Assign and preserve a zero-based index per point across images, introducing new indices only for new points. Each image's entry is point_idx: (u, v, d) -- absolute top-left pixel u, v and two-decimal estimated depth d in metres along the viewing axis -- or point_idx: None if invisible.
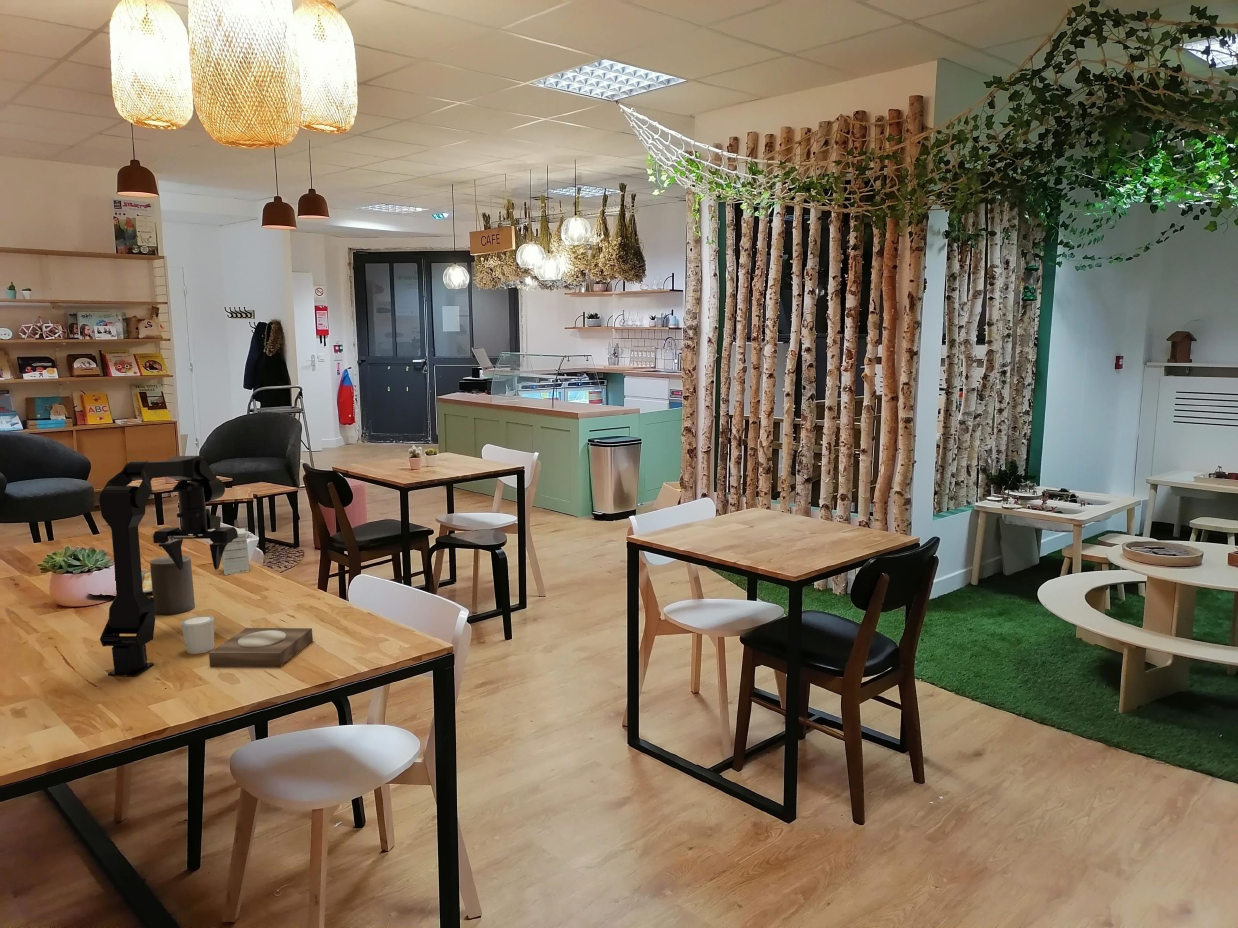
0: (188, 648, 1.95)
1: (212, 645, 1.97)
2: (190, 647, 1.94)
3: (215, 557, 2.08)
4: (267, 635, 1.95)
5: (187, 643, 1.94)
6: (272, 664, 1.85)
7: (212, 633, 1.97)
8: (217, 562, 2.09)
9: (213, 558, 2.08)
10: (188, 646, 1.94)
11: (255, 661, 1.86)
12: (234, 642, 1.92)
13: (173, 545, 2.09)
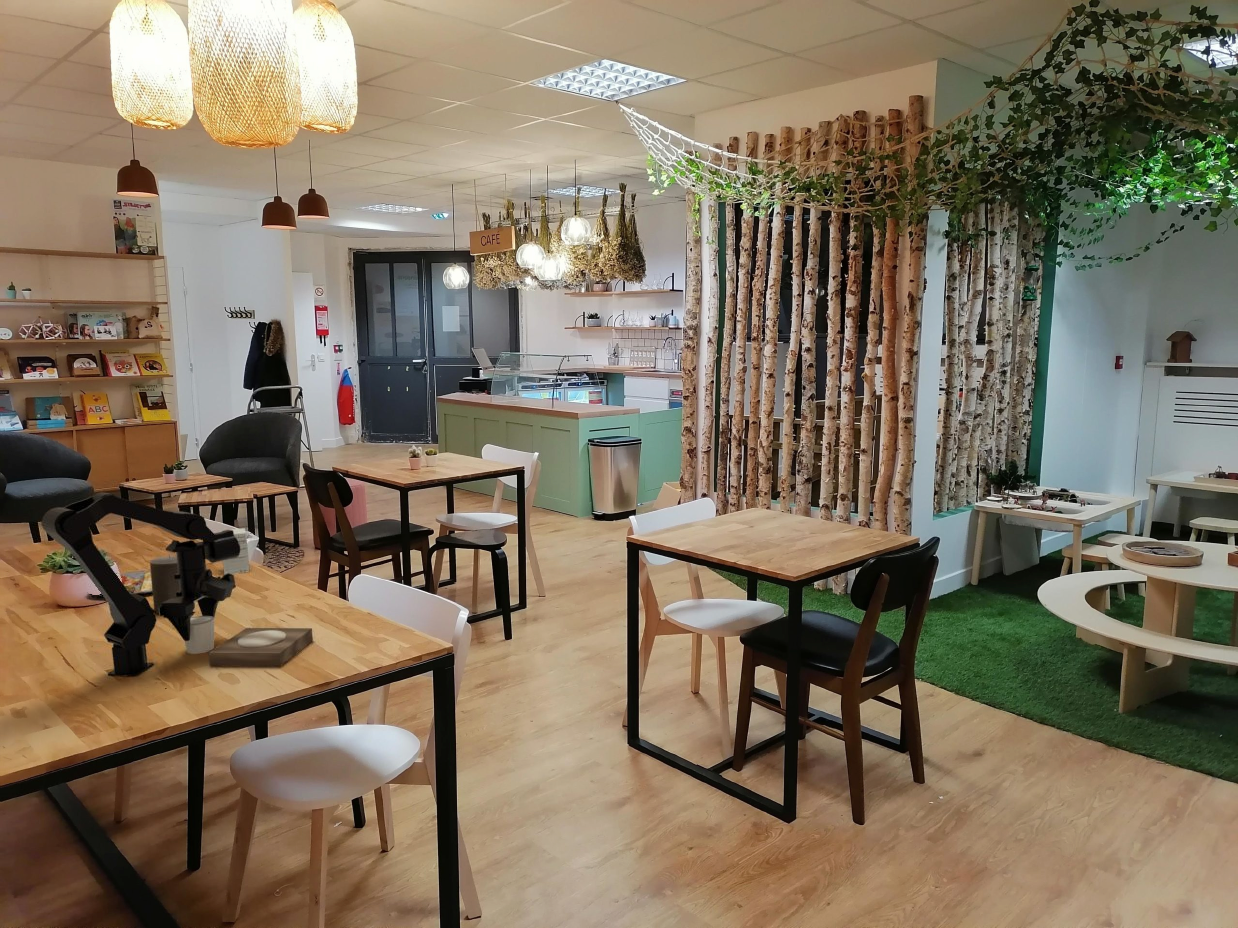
0: (188, 648, 1.95)
1: (212, 645, 1.97)
2: (190, 647, 1.94)
3: None
4: (267, 635, 1.95)
5: (187, 643, 1.94)
6: (272, 664, 1.85)
7: (212, 633, 1.97)
8: (181, 633, 1.91)
9: None
10: (188, 646, 1.94)
11: (255, 661, 1.86)
12: (234, 642, 1.92)
13: (202, 599, 2.01)
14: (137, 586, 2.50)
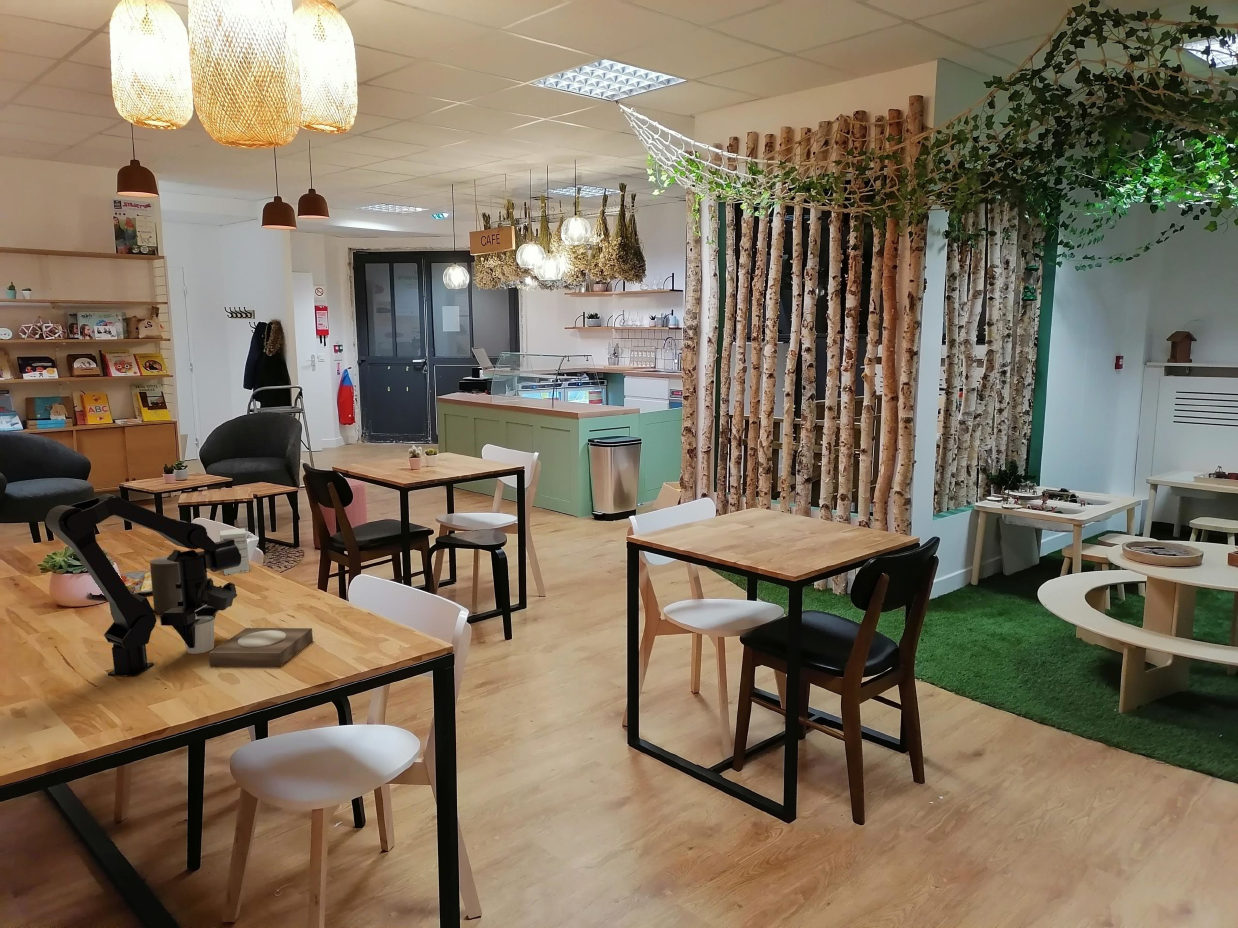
0: (188, 648, 1.95)
1: (212, 645, 1.97)
2: None
3: None
4: (267, 635, 1.95)
5: None
6: (272, 664, 1.85)
7: (212, 633, 1.97)
8: (186, 641, 1.93)
9: None
10: None
11: (255, 661, 1.86)
12: (234, 642, 1.92)
13: (200, 610, 2.00)
14: (137, 586, 2.50)
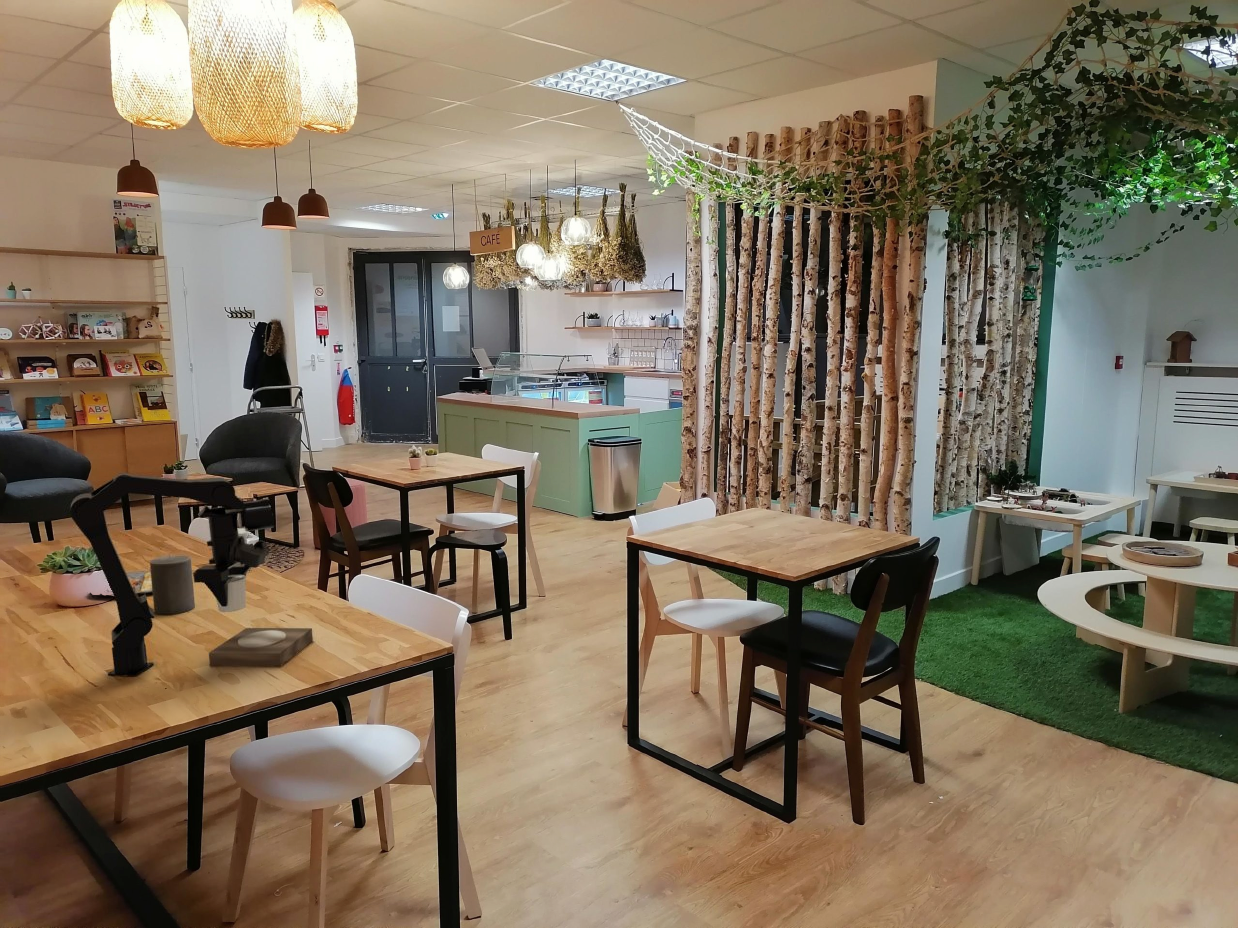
0: (220, 607, 1.92)
1: (244, 603, 1.94)
2: None
3: None
4: (267, 635, 1.95)
5: None
6: (272, 664, 1.85)
7: (244, 591, 1.94)
8: (219, 599, 1.90)
9: None
10: (220, 604, 1.91)
11: (255, 661, 1.86)
12: (234, 642, 1.92)
13: (230, 569, 1.97)
14: (137, 586, 2.50)
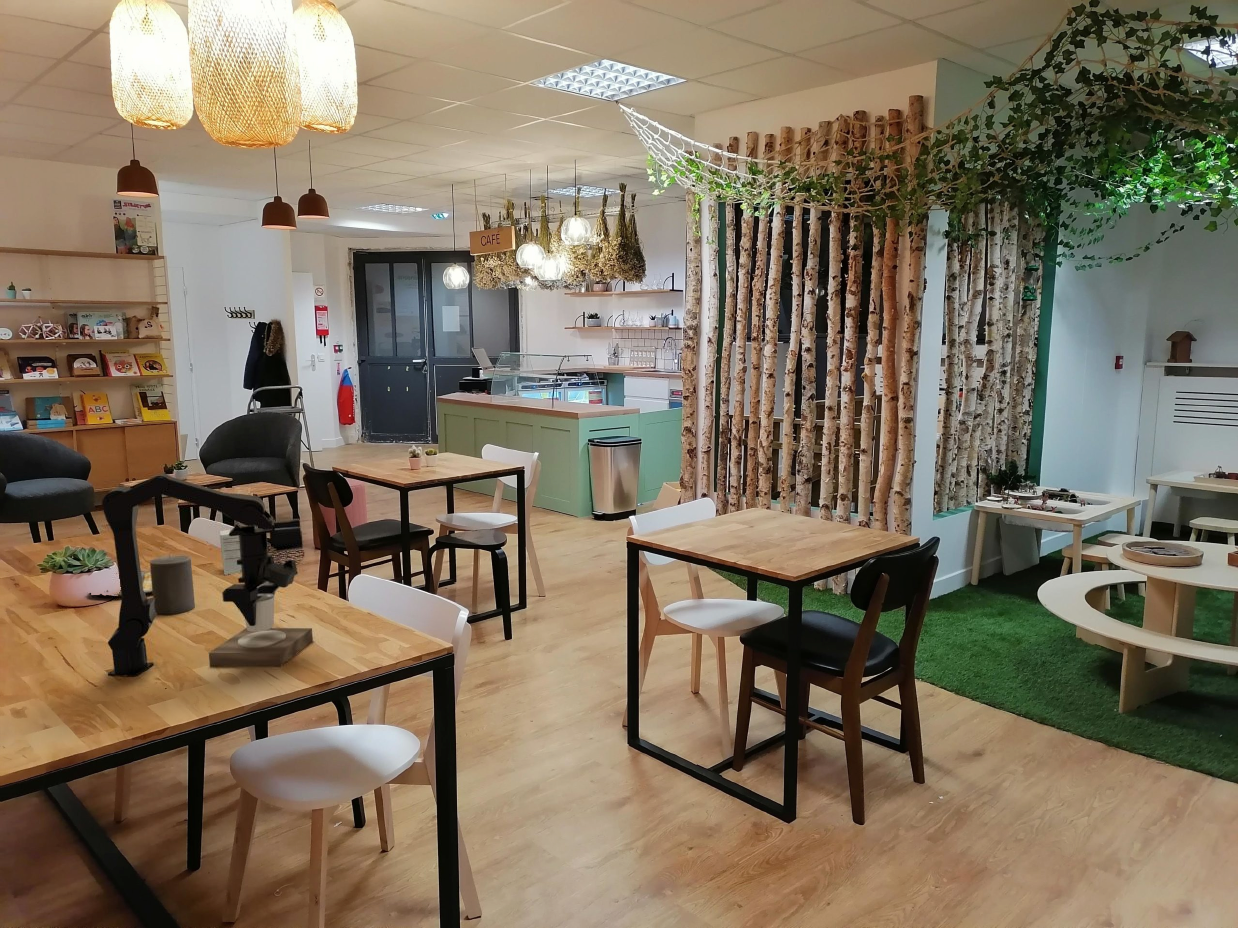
0: (248, 626, 1.90)
1: (272, 623, 1.93)
2: None
3: None
4: (267, 635, 1.95)
5: None
6: (272, 664, 1.85)
7: (272, 611, 1.92)
8: (247, 618, 1.89)
9: None
10: (248, 624, 1.90)
11: (255, 661, 1.86)
12: (234, 642, 1.92)
13: (259, 588, 1.96)
14: None
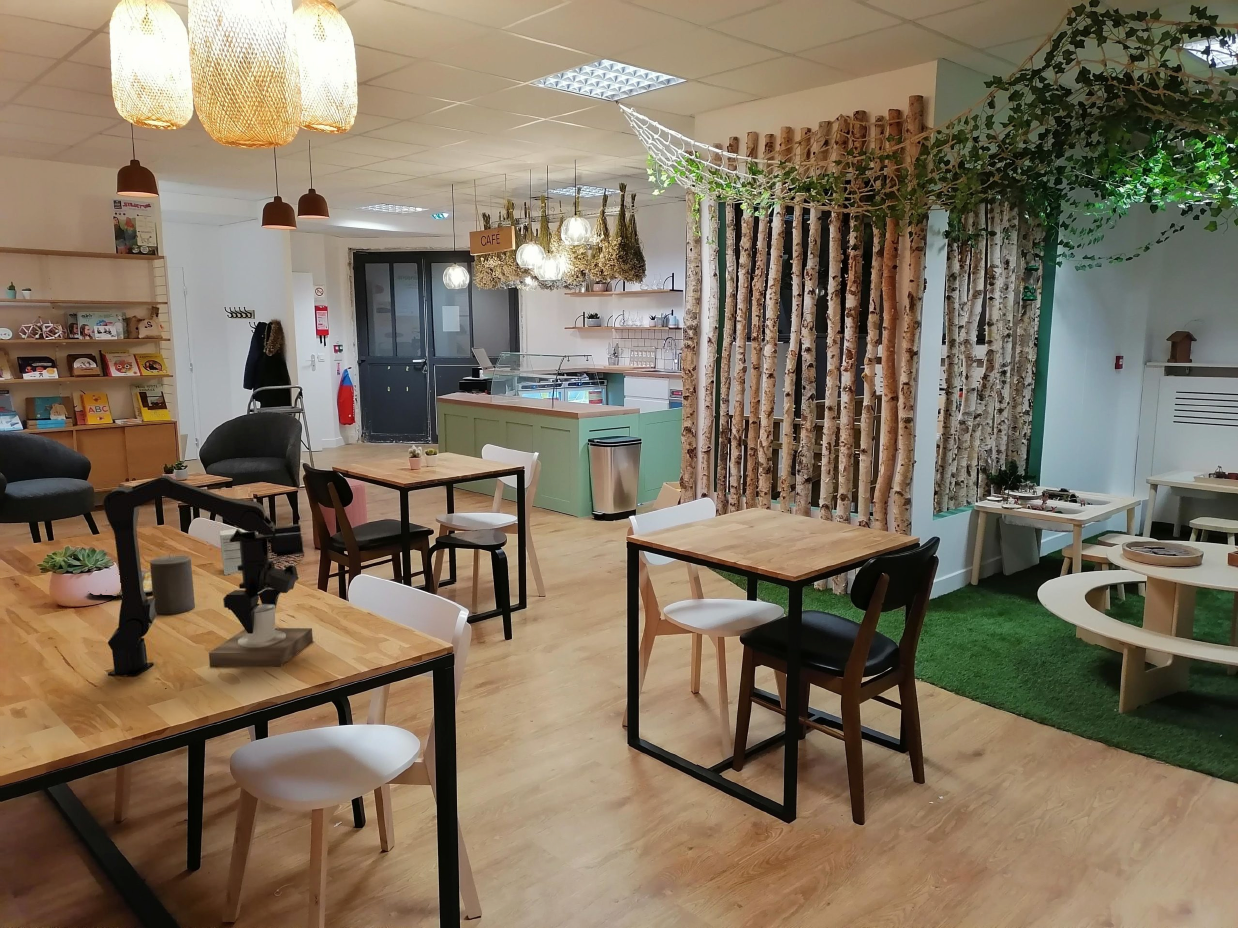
0: (249, 636, 1.91)
1: (273, 634, 1.93)
2: (252, 635, 1.90)
3: None
4: None
5: None
6: (272, 664, 1.85)
7: (273, 621, 1.93)
8: (245, 626, 1.88)
9: None
10: (250, 634, 1.91)
11: (255, 661, 1.86)
12: (234, 642, 1.92)
13: (263, 591, 1.97)
14: None
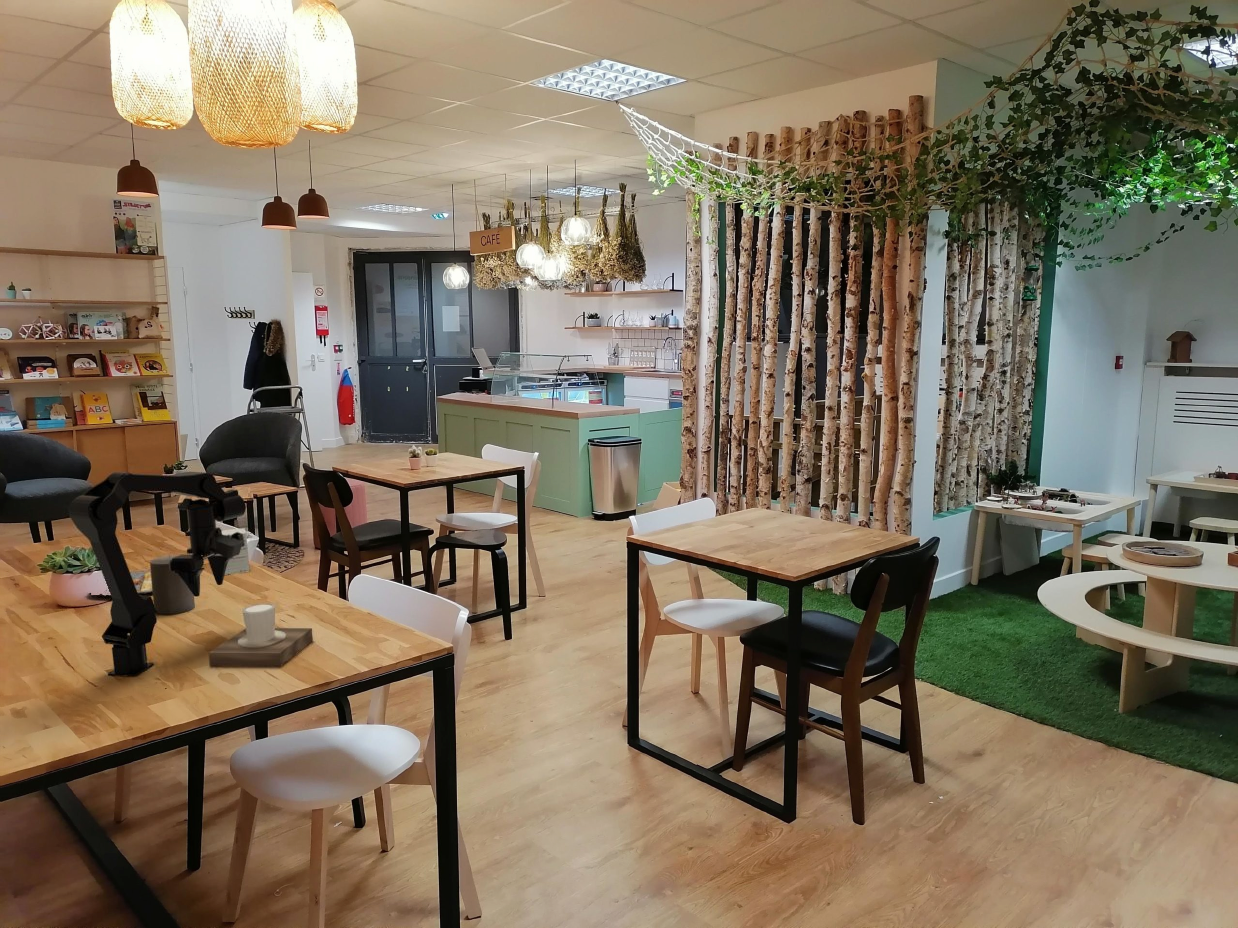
0: (249, 636, 1.91)
1: (273, 633, 1.93)
2: (252, 635, 1.90)
3: None
4: None
5: (248, 631, 1.91)
6: (272, 664, 1.85)
7: (273, 621, 1.93)
8: (191, 589, 1.96)
9: None
10: (249, 634, 1.91)
11: (255, 661, 1.86)
12: (234, 642, 1.92)
13: (212, 558, 2.06)
14: (137, 586, 2.50)
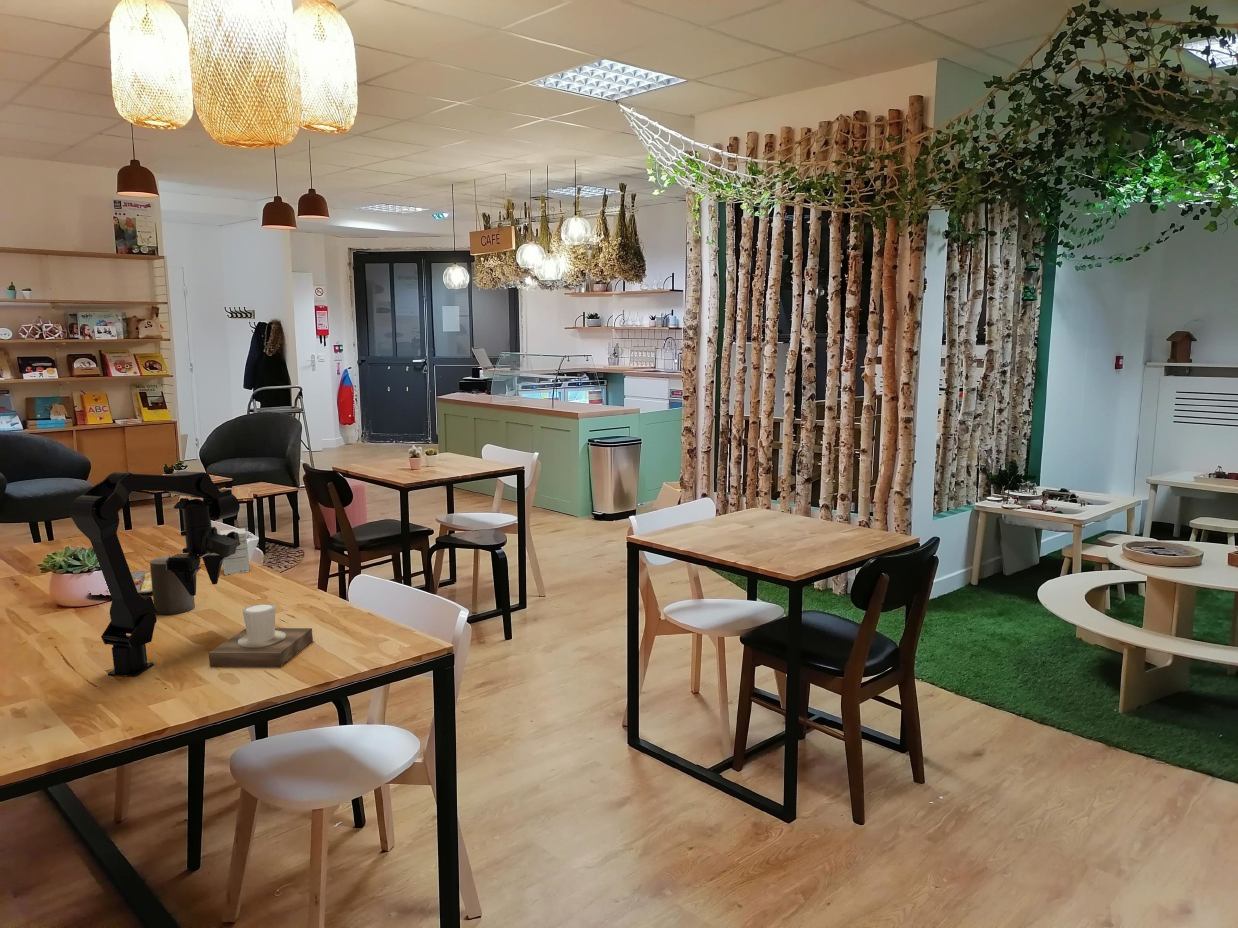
0: (249, 636, 1.91)
1: (273, 634, 1.93)
2: (252, 635, 1.90)
3: None
4: None
5: (248, 631, 1.91)
6: (272, 664, 1.85)
7: (273, 621, 1.93)
8: (187, 588, 1.97)
9: None
10: (250, 634, 1.91)
11: (255, 661, 1.86)
12: (234, 642, 1.92)
13: (207, 557, 2.07)
14: (137, 586, 2.50)
